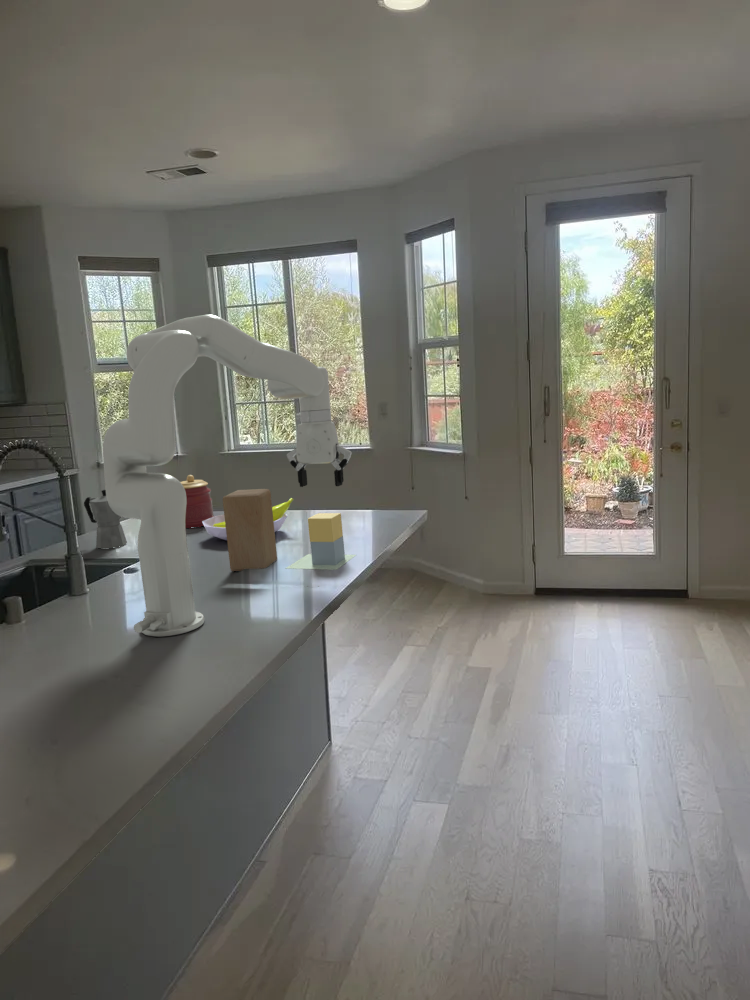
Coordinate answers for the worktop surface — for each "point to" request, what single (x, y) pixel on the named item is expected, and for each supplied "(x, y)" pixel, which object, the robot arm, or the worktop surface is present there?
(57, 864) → the worktop surface
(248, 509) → the block
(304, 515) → the worktop surface
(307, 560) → the plate
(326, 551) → the slate brick
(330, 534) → the ochre brick
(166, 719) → the worktop surface
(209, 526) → the fruit bowl
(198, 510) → the canister
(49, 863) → the worktop surface
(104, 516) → the coffeepot
